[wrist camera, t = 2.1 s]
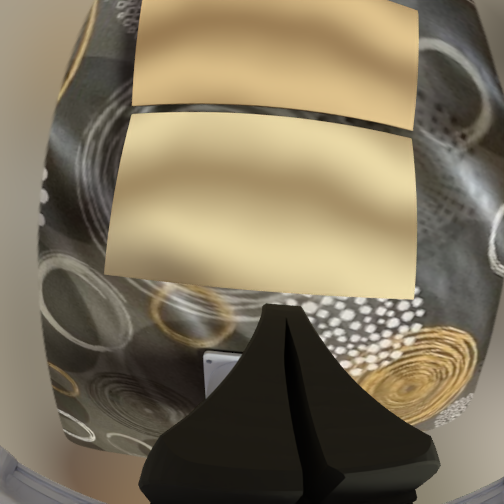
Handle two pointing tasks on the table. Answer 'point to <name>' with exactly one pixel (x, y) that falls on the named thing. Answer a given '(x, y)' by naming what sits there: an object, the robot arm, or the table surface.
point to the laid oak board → (281, 56)
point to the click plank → (265, 205)
